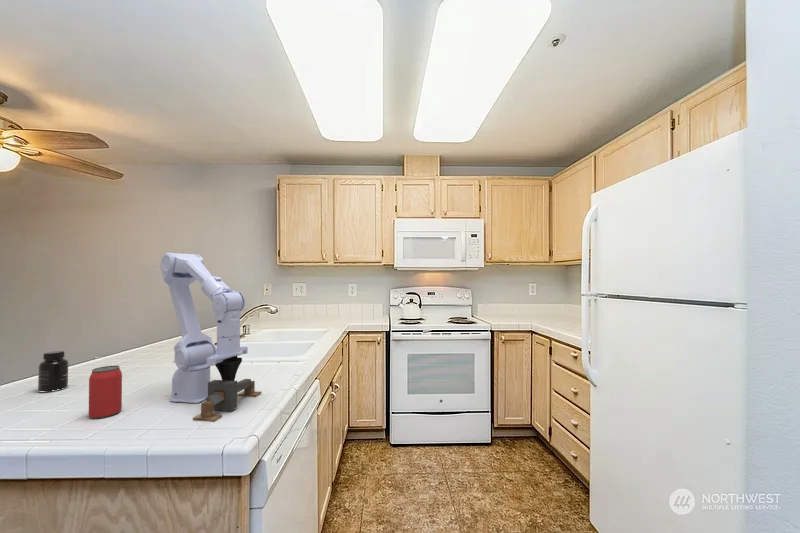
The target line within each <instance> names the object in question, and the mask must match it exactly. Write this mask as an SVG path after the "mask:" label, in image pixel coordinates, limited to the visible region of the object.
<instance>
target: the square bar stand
mask: <svg viewBox="0 0 800 533" xmlns="http://www.w3.org/2000/svg"><path fill="white" fill-rule="evenodd" d="M255 383H256V382H255V380H252V379H251V378H243V379H242V380H239V381H237V397H248V398H256V397H259V396H260V395H262V391H255V390H256V388H255ZM221 401H225V391H216V392H215V393H214V394H212V395H210V396H208V397H206V400H204V401H202V402H200V413H199V414H197V415H195V416H193V417H192V421H199V422H201V421H202V422H216V421H218V420H220V419H221V418H222V417H223V414H217V413H216V414H215V410H214V405H215V404H217V403H219V402H221Z"/></svg>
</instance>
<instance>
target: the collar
mask: <svg viewBox="0 0 800 533" xmlns="http://www.w3.org/2000/svg"><path fill="white" fill-rule="evenodd" d="M237 382H238V380H234V381H228V380H222V379H212V380H210V382H208V396H210V395H212V394H214V393H215V392H216V391H225V401H221V402H219V403H217V404H215V405H214V411H216V410H218V411H233V410H235V409H236V408H238V396H237V394H238V393H237Z"/></svg>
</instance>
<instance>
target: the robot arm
mask: <svg viewBox="0 0 800 533" xmlns="http://www.w3.org/2000/svg"><path fill="white" fill-rule="evenodd" d="M204 262H205V261H204V258H203V257H202V256H201V255H200V254H198V253H194V254H193V253H178V252H177V253H174V252H166V253H164V254H163V256H162V257H161V260H160V265H159V267H160V271H161V275H162V278H163V282H164V283H165V284H167V285H168V289H169V294H170V297H171V301H172V304H173V308H174V312H175V316H176V319H177V323H178V327H179V331H180V335H181V338H180V339H179V340H178V341H177V343H176V344H175V345H174V347H173V351H174V364H175V366H176V367H177V368H178V369H176V370H175V371H174V373H173V375H172V378H171V399H169V402H174V403H189V404H190V403H192V404H193V403H194V404H200V403H202V402H205V401H206V397H208V382H210V381H211V367H213V366H214V367H216V369H217V371H218V373H219V375H220V378H221V380H228V381H236V376H237V372H238V369H239V368H240V366H241V364H242V362H243V358H242V357H239V356H243V355H247V354H248V353H249V352H248V350H249V349H248V346H241V312H242V310H243V311H244V309H245V303H246V301H245V296H244V294H243V293H242V292H241V291H239V290H237V291H235V290H232V289H231V288H230V287H229V286H228V285H227V284H226V283H225V282H224V281H223V280H222V277H220V276H213V275H212V274H211V273H210V271H209V270H208V269H207V268H206V266H205V264H204ZM196 281H197V282H198V283H199V284H201V286H200V289H201V291H202V292H203V294H204V295H205V296H206V297H207V298H208V299H209V300H210V301H211V302H212V303H211V308H212V310H213V313H214V319H215V320H216V345H215V344H214V342H213V340H212V337H211V336H209V335H208V334H206V333H203V331H202V328H201V325H200V321H199V318H198V315H197V311H196V310H197V309H196V308H195V303H194V300H193V296H192V293H191V290H190V285H191V284H193V283H194V282H196Z"/></svg>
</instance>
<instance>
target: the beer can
mask: <svg viewBox="0 0 800 533" xmlns="http://www.w3.org/2000/svg"><path fill="white" fill-rule="evenodd" d="M120 368H121V367H120V365H105V366H99V367H96V368H93V369H91V374H90V375H89V379H88V417H89V418H91V419H102V418H101V417H104V418H108V417H107V416H109V417H112V416H114V414H115V415H116V414H118V413H120V412H121V411H122V407H123V406H122V405H123V404H122V403H123V402H122V401H123V399H122V398H123V395H122V394H123V372H122V370H121V369H120ZM111 415H112V416H111Z"/></svg>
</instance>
